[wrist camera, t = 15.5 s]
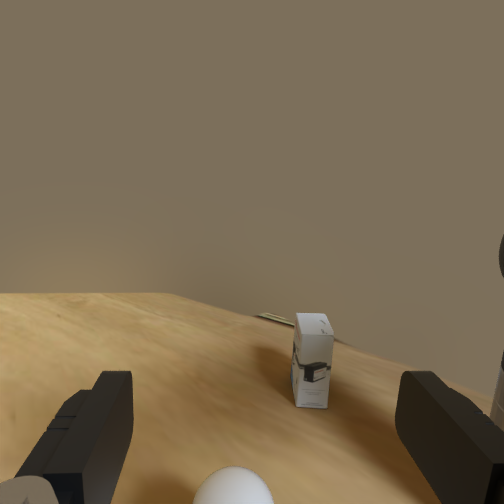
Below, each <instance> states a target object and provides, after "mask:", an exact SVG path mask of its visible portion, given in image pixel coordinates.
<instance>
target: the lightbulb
mask: <svg viewBox="0 0 504 504" xmlns="http://www.w3.org/2000/svg"><path fill="white" fill-rule="evenodd" d="M192 504H274V501H273V497H272V494H271V492H270V490H269V488H268V486H267V485H266V483H265V482H264V480H263V479H262V478H261V477H260V476H259V475H258V474H256V473H255V472H253V471H252V470H250V469H248V468H245V467H241V466H227V467H223V468H221V469H218V470H216V471H215V472H213V473H212V474H210V475H209V476H208V477H207V478H206V479H205V480H204V481H203V483H202V484H201V485H200V487H199V489H198V490H197V492H196V495H195V497H194V500H193V503H192Z"/></svg>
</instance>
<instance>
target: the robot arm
mask: <svg viewBox="0 0 504 504" xmlns="http://www.w3.org/2000/svg"><path fill="white" fill-rule="evenodd" d="M499 264H500V269H501V273H502V276H503V277H504V235H503V238H502V241H501V245H500V250H499ZM133 421H134V417H133V386H132V373H131V371H103V372H102V373H101V374H100V376H99V378H98V379H97V381H96V383H95V385H94V386H93V388H92V390H80V391H78V392H77V393H76V394H74V395H73V396H72V397H70V398H69V399H68V400H66V401H65V402H64V403H63V405H62V406H61V408H60V409H59V411H58V412H57V414H56V415H55V419H53V420H52V421H51V423H50V424H49V426H48V427H47V431H46V432H44V433H43V435H42V436H41V438H40V439H39V441H38V442H37V444H36V445H35V447H34V448H33V450H32V451H31V453H30V454H29V456H28V457H27V459H26V460H25V462H24V463H23V465H22V466H21V468H20V469H19V471H18V472H17V474H16V475H15V477H14V478H13V479H10V480H7V481H5V482H2V483H0V504H110V503H111V500H112V497H113V494H114V491H115V488H116V485H117V482H118V479H119V476H120V473H121V470H122V467H123V464H124V461H125V457H126V454H127V451H128V448H129V445H130V442H131V438H132V432H133ZM395 425H396V430H397V433H398V436H399V438H400V440H401V441H402V443H403V444H404V446H405V447H406V449H407V450H408V452H409V454H410V455H411V457H412V458H413V460H414V461H415V463H416V464H417V466H418V467H419V469H420V470H421V472H422V474H423V475H424V477H425V478H426V480H427V481H428V483H429V484H430V486H431V487H432V489H433V490H434V492H435V494H436V495H437V497H438V498H439V500H440V501H441V503H442V504H504V352H503V357H502V361H501V366H500V370H499V375H498V380H497V384H496V389H495V394H494V399H493V403H492V408H491V412H490V417H488V416H487V415H486V414H483V412H482V411H481V410H480V409H479V408H478V407H477V406H476V405H475V404H474V403H473V402H472V401H471V400H470V399H468V398H467V397H465V396H463V395H462V394H460V393H458V392H457V391H455V390H453V389H452V388H449V387H448V386H447V385H446V384H445V383H444V382H443V381H442V380H441V379H440V378H438V377H437V376H436V375H435V374H434V373H433V372H432V371H405V372H404V373H403V374H402V376H401V381H400V387H399V394H398V400H397V407H396V413H395Z"/></svg>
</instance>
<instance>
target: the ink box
mask: <svg viewBox="0 0 504 504" xmlns="http://www.w3.org/2000/svg"><path fill="white" fill-rule="evenodd" d="M333 342H334V332H333V330H332V328H331V326H330V323H329V322H328V319H327V317H326V315H325V314H315V313H296V318H295V329H294V342H293V354H292V365H291V382H292V388H293V393H294V399H295V405H296V407H308V408H324V409H326V408H327V405H328V394H329V383H330V373H331V363H332V353H333Z"/></svg>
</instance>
